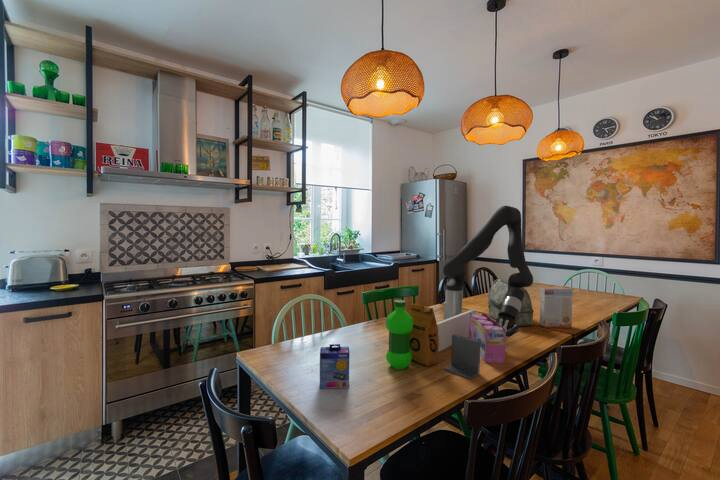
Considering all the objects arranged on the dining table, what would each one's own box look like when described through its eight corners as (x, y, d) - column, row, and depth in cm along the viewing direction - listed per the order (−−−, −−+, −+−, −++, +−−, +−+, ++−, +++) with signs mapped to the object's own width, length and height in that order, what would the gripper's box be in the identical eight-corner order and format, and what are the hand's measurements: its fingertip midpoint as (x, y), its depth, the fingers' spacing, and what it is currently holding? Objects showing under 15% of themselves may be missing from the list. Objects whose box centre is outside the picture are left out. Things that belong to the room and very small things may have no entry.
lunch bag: (484, 313, 201) (484, 277, 200) (514, 314, 201) (515, 278, 200) (501, 327, 175) (502, 286, 174) (536, 327, 175) (537, 286, 174)
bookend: (444, 370, 123) (445, 338, 122) (453, 364, 128) (453, 334, 127) (471, 379, 116) (471, 345, 115) (479, 373, 120) (480, 341, 120)
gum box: (466, 341, 153) (467, 312, 153) (484, 341, 153) (485, 312, 153) (485, 363, 130) (486, 329, 129) (505, 363, 129) (506, 329, 129)
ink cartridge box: (319, 389, 108) (319, 345, 107) (319, 381, 113) (320, 339, 113) (349, 388, 109) (350, 345, 108) (348, 380, 114) (349, 339, 114)
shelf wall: (427, 354, 137) (427, 326, 137) (472, 332, 165) (473, 309, 165) (430, 356, 136) (430, 327, 135) (475, 333, 164) (475, 309, 164)
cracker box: (565, 325, 179) (567, 286, 178) (571, 328, 173) (573, 289, 172) (538, 324, 181) (540, 286, 180) (543, 327, 175) (545, 288, 174)
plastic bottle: (406, 374, 119) (407, 305, 118) (380, 367, 125) (381, 302, 123) (417, 364, 127) (418, 300, 126) (392, 358, 133) (393, 297, 132)
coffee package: (425, 369, 124) (426, 310, 123) (402, 358, 134) (403, 304, 133) (443, 362, 129) (444, 307, 128) (419, 352, 140) (420, 300, 138)
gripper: (493, 301, 150) (480, 334, 142) (524, 306, 140) (512, 342, 132) (497, 311, 154) (485, 343, 146) (528, 316, 145) (516, 352, 136)
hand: (498, 343), depth 139 cm, fingers closed
